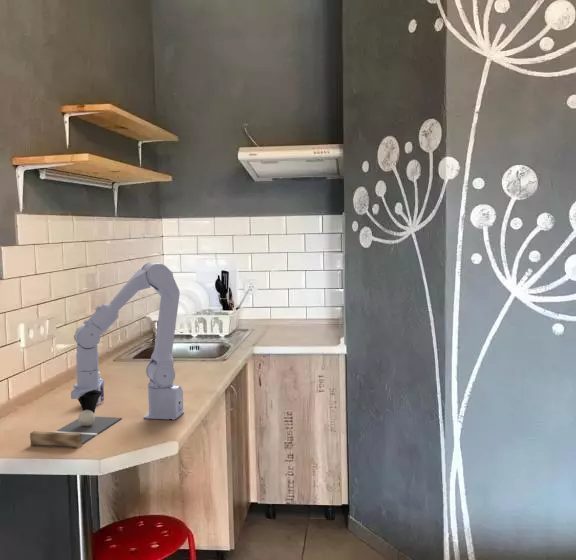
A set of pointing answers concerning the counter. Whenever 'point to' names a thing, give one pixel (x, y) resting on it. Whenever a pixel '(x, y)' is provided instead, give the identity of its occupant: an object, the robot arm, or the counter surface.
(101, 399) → the pill bottle
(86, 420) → the ball
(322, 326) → the counter surface
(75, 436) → the backstop rail
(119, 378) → the counter surface
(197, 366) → the counter surface
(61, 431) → the lane
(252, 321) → the counter surface
